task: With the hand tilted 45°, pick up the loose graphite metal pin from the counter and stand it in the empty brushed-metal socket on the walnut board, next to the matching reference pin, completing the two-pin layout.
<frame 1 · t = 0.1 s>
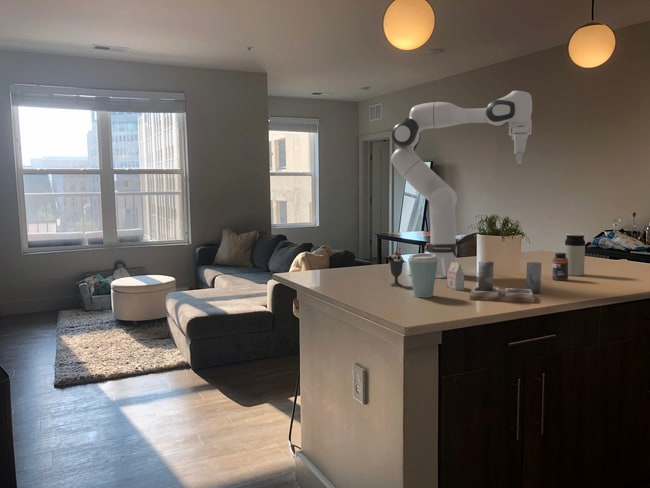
hand: (519, 164, 218), 48 cm above the countertop, tool pointing down, fingers open, 8 cm apart
layout board: (501, 297, 184), on the countertop
milk carton: (455, 288, 202), on the countertop
disposable coffee cup: (422, 296, 188), on the countertop
supplement bottle: (559, 280, 218), on the countertop
sundae: (396, 285, 209), on the countertop
loose pin: (533, 292, 192), on the countertop
travel mug: (573, 275, 230), on the countertop
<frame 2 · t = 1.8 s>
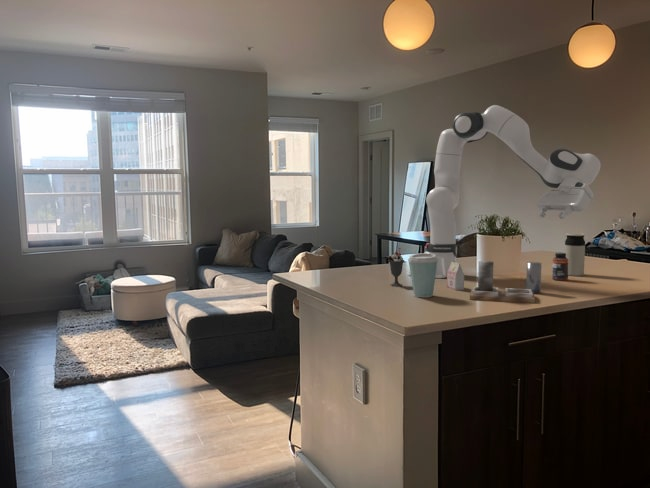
hand: (550, 217, 194), 27 cm above the countertop, tool tilted 45°, fingers open, 8 cm apart
nothing on the countertop moved.
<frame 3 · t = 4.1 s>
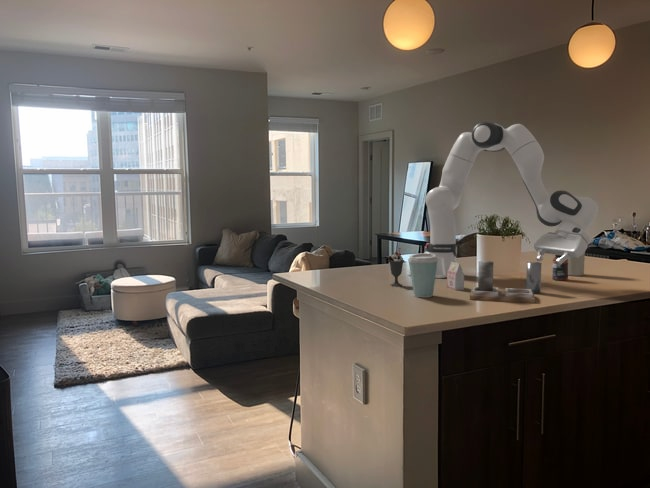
hand: (547, 261, 194), 11 cm above the countertop, tool tilted 45°, fingers open, 8 cm apart
nothing on the countertop moved.
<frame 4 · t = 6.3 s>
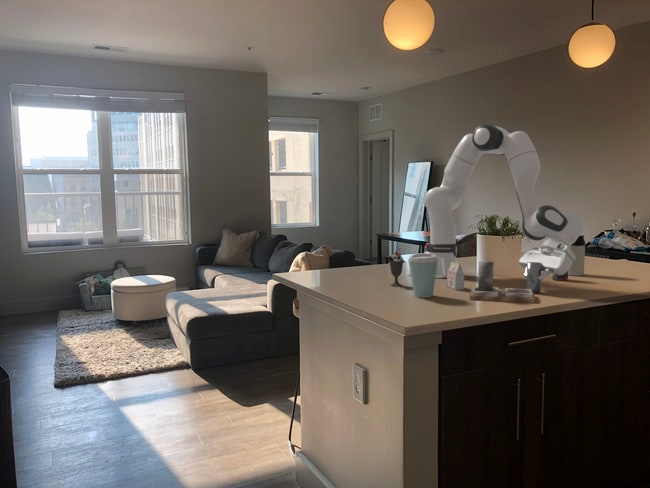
hand: (532, 278, 191), 5 cm above the countertop, tool tilted 45°, fingers closed on loose pin, 5 cm apart
loose pin: (533, 292, 192), on the countertop, touching gripper
everything else where it was.
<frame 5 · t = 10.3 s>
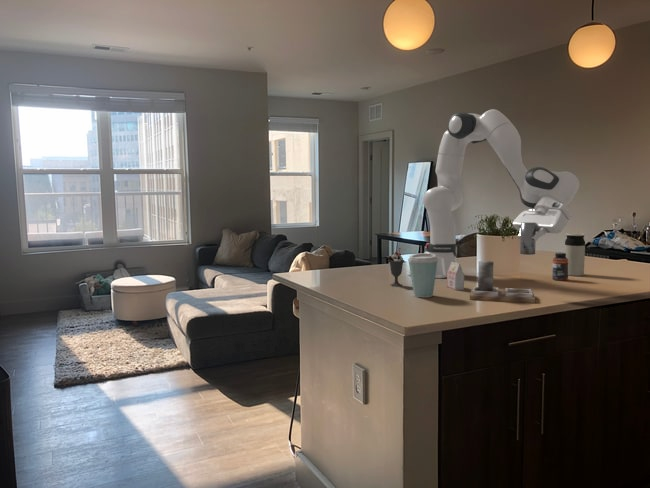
hand: (526, 238, 184), 20 cm above the countertop, tool tilted 45°, fingers closed on loose pin, 5 cm apart
loose pin: (527, 253, 185), point 15 cm above the countertop, touching gripper
everything else where it was.
when the fingers open (8 cm above the countertop, at t = 14.2 s): loose pin drops 1 cm, resting on layout board.
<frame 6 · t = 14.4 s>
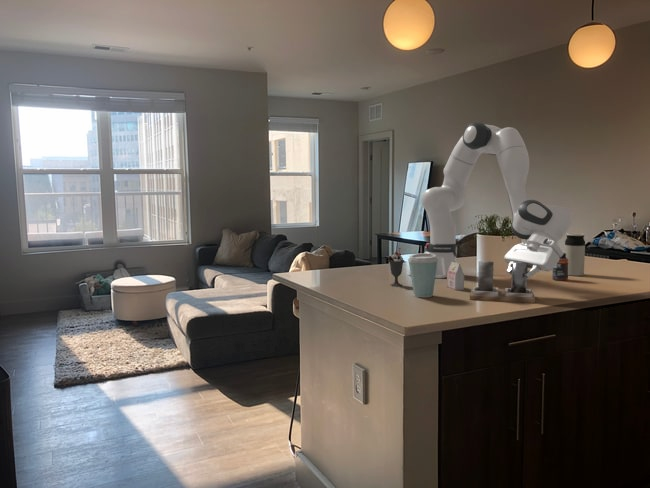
hand: (517, 275, 181), 8 cm above the countertop, tool tilted 45°, fingers open, 7 cm apart
loose pin: (518, 294, 182), point 2 cm above the countertop, touching layout board
everything else where it was.
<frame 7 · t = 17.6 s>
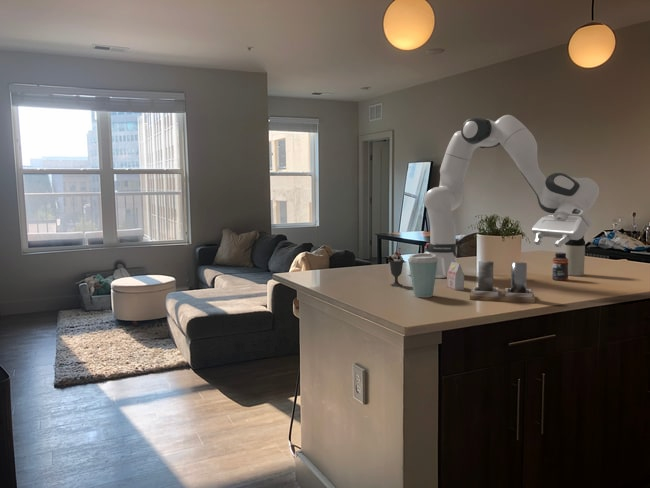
hand: (546, 244, 185), 18 cm above the countertop, tool tilted 45°, fingers open, 8 cm apart
nothing on the countertop moved.
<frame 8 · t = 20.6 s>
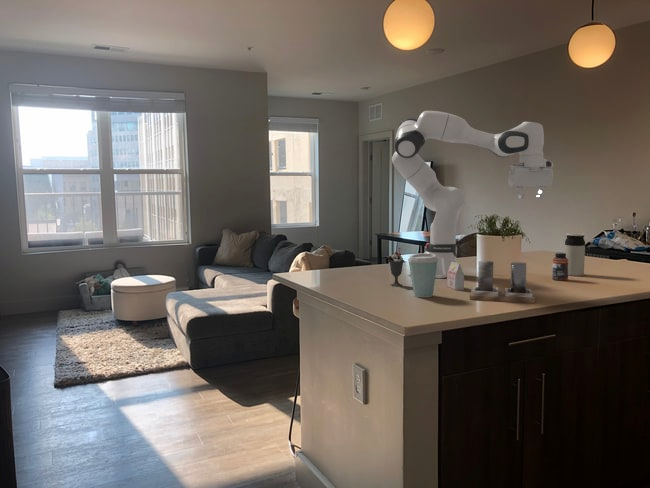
hand: (530, 198, 209), 34 cm above the countertop, tool pointing down, fingers open, 8 cm apart
nothing on the countertop moved.
at the end: loose pin 0.0 cm from the target spot on the layout board, point 1.5 cm above the layout board's base; loose pin tilted 1°; the gripper is holding nothing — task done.
